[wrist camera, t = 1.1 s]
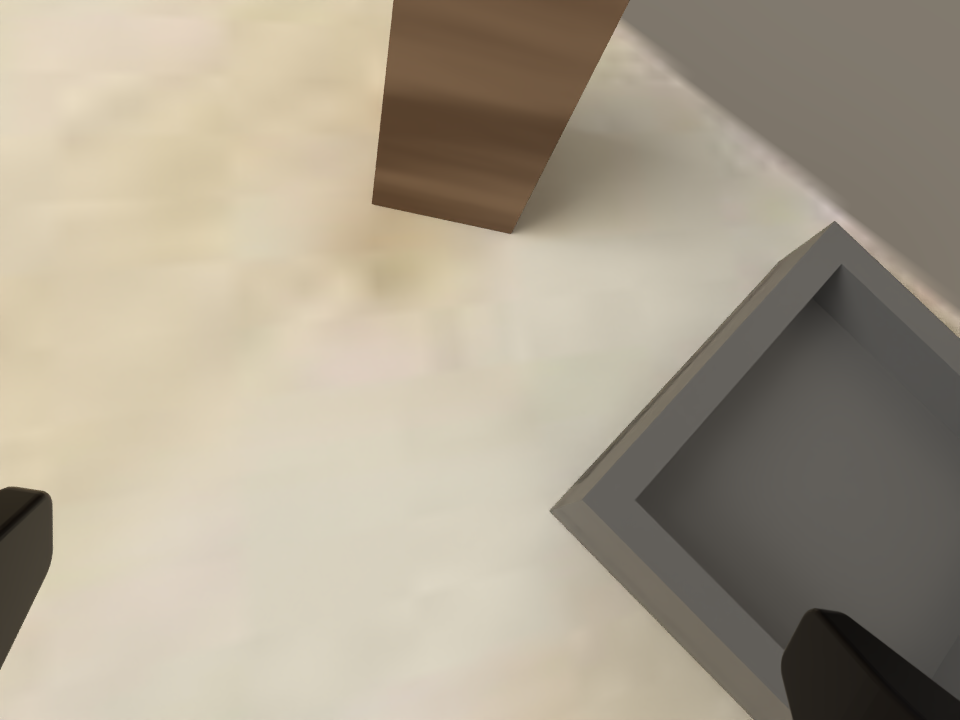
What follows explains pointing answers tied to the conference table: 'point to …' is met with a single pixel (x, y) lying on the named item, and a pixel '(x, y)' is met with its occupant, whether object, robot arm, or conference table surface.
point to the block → (481, 101)
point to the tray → (794, 478)
